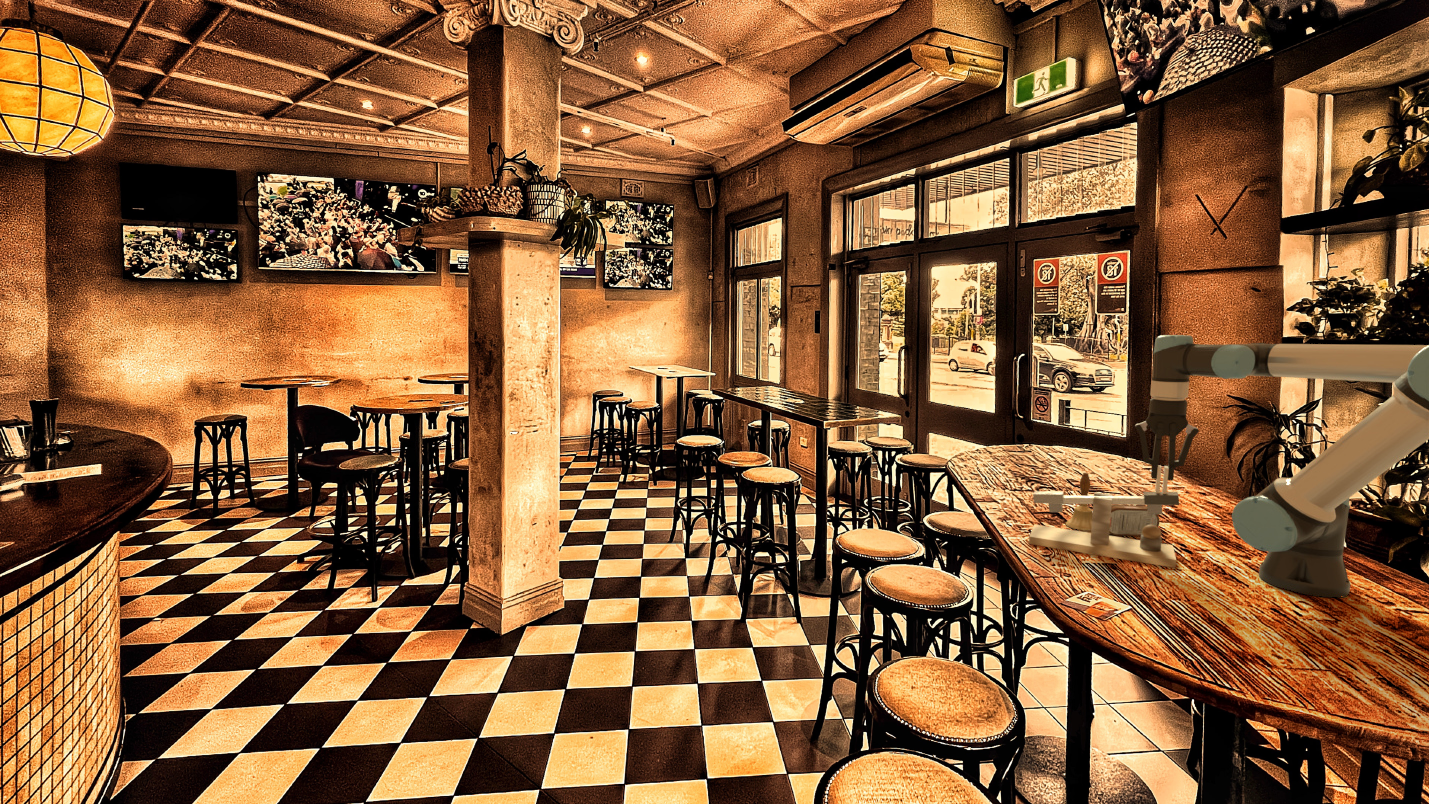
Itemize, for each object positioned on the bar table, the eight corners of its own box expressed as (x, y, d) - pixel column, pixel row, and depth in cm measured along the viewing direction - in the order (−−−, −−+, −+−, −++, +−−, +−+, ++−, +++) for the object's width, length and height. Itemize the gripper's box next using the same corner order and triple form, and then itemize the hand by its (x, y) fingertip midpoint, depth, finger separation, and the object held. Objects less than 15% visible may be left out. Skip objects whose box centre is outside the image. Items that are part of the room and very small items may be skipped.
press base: (1172, 552, 164) (1176, 499, 162) (1175, 567, 154) (1180, 511, 152) (1033, 531, 181) (1036, 483, 179) (1028, 543, 171) (1032, 492, 169)
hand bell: (1103, 532, 180) (1107, 477, 178) (1071, 530, 182) (1075, 475, 180) (1092, 523, 188) (1096, 470, 186) (1061, 521, 190) (1065, 469, 188)
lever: (1178, 511, 159) (1177, 492, 158) (1180, 515, 156) (1178, 495, 155) (1036, 509, 176) (1034, 491, 176) (1034, 512, 173) (1033, 494, 173)
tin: (1153, 534, 178) (1156, 504, 177) (1160, 537, 175) (1162, 508, 174) (1097, 532, 180) (1099, 503, 179) (1102, 536, 177) (1104, 506, 176)
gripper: (1202, 398, 155) (1193, 492, 158) (1134, 395, 163) (1127, 485, 166) (1205, 401, 149) (1196, 499, 152) (1135, 398, 156) (1128, 491, 159)
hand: (1160, 492), depth 159 cm, fingers closed
